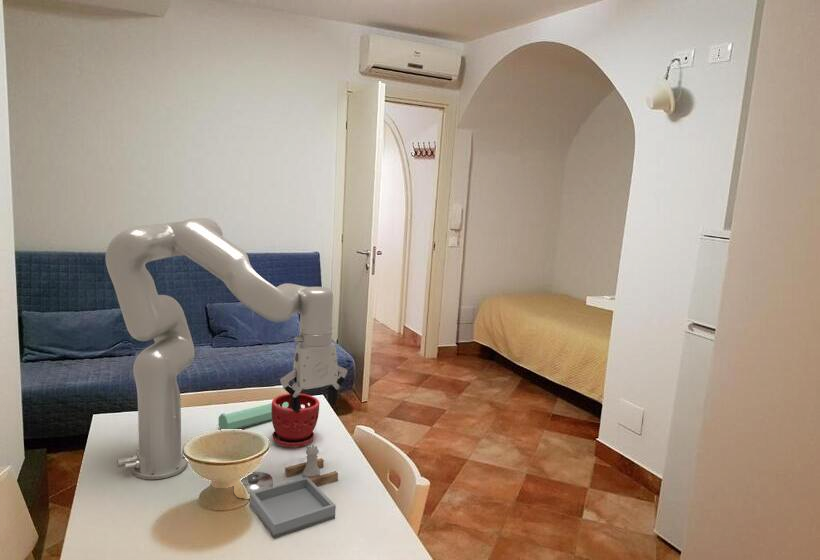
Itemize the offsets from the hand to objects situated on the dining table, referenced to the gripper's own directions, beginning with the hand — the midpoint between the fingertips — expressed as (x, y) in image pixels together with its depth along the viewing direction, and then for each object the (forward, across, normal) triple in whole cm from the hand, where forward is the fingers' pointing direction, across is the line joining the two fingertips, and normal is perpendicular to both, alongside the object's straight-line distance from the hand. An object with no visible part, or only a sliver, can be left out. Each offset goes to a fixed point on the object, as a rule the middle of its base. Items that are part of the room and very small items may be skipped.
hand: (314, 407), depth 134 cm
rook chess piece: (+19, 0, 0) cm, 19 cm away
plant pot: (+19, +5, +21) cm, 29 cm away
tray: (+18, -10, -11) cm, 24 cm away
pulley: (+18, -14, +2) cm, 23 cm away
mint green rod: (+19, +2, +38) cm, 42 cm away
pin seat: (+18, 0, 0) cm, 18 cm away
